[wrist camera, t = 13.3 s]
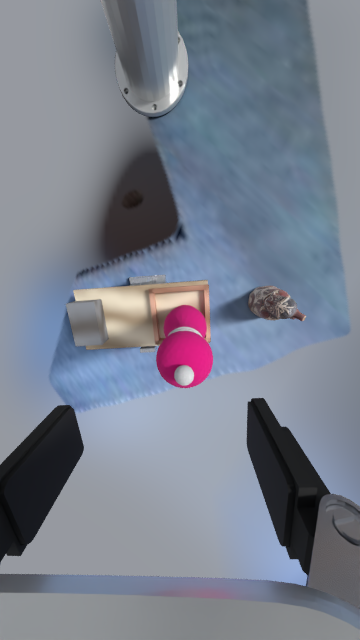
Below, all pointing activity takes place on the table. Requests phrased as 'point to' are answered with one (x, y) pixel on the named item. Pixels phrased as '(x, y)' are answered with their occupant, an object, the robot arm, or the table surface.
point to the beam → (132, 313)
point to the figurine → (273, 304)
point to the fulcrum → (144, 281)
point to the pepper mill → (184, 348)
